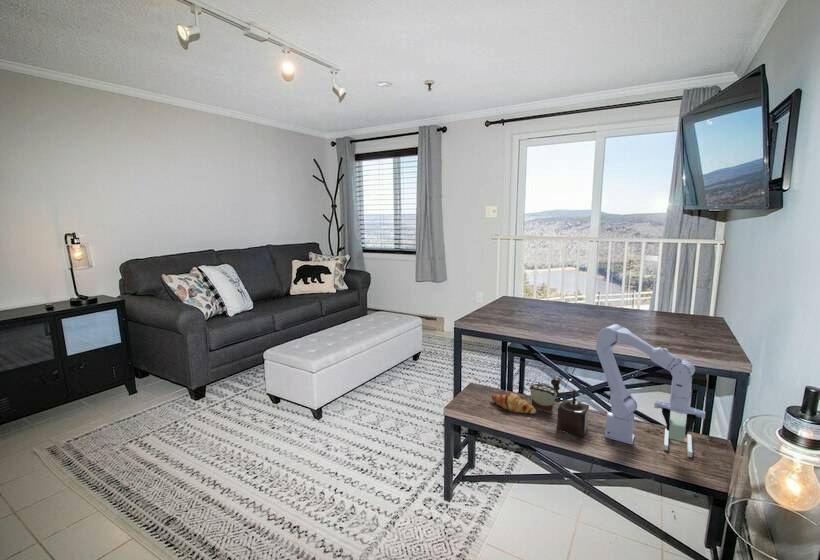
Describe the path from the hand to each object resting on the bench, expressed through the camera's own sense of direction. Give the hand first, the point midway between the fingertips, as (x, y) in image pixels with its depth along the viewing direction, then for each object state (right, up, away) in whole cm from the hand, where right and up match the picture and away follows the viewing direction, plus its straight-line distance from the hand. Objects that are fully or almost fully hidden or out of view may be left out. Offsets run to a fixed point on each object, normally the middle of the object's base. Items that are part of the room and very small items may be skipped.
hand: (676, 431), depth 136 cm
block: (0, -2, 0) cm, 2 cm away
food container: (-33, -5, +39) cm, 52 cm away
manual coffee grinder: (-30, -7, +23) cm, 38 cm away
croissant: (-48, -5, +39) cm, 62 cm away
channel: (+7, -9, +9) cm, 14 cm away
